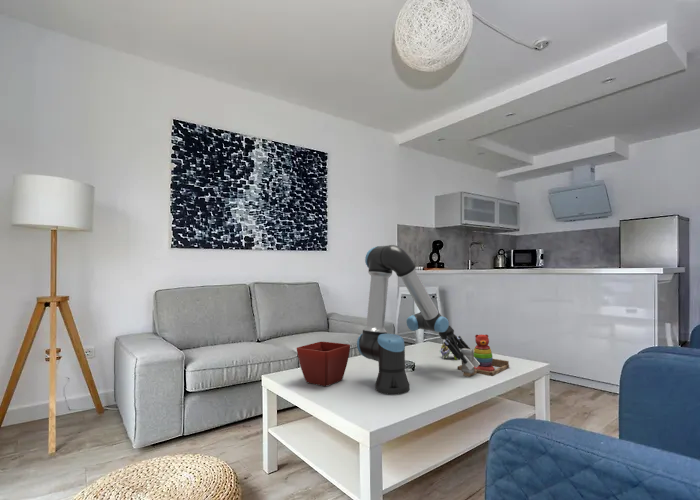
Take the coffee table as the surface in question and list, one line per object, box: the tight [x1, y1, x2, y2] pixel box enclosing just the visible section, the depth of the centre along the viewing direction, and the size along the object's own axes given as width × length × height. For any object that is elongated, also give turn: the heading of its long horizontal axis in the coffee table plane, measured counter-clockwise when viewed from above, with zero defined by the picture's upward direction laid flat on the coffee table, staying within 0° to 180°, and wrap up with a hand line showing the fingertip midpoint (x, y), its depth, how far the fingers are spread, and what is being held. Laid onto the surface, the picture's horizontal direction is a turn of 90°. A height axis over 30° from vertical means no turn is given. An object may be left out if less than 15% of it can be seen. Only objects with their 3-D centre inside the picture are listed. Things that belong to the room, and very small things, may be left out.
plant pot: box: [296, 341, 351, 387], centre depth 180 cm, size 19×19×17 cm
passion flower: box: [438, 343, 458, 361], centre depth 218 cm, size 11×11×12 cm
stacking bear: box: [474, 334, 496, 372], centre depth 194 cm, size 11×10×18 cm
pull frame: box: [456, 348, 510, 377], centre depth 191 cm, size 28×18×12 cm, turn 135°
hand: (475, 367), depth 180 cm, fingers open, 5 cm apart
